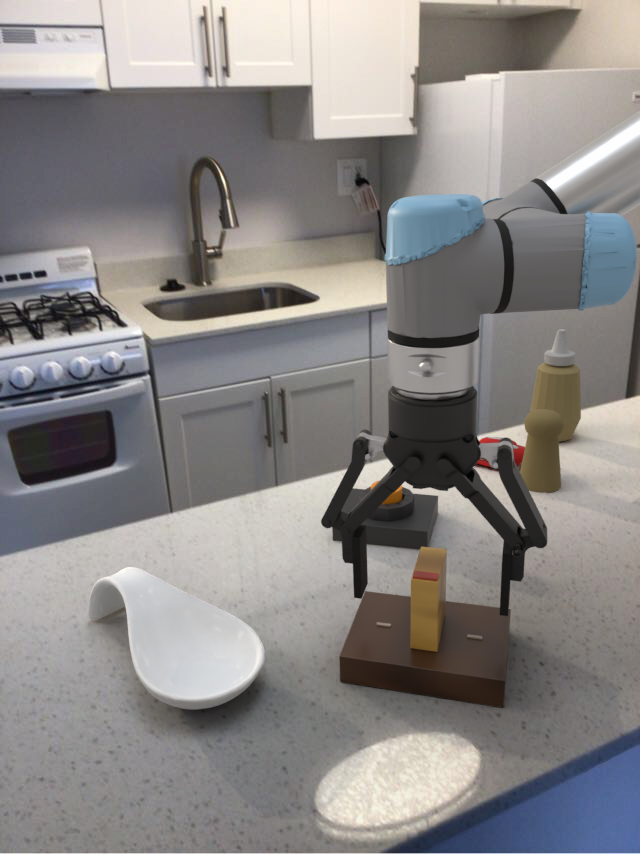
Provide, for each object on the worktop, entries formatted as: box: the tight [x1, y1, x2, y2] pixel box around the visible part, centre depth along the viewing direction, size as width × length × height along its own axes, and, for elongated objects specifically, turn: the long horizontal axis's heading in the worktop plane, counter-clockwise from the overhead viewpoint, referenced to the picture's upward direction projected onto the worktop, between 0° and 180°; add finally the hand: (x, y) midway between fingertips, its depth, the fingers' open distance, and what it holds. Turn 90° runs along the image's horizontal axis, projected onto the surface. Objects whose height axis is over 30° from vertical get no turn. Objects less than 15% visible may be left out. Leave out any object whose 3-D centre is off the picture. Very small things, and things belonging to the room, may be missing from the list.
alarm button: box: [370, 480, 403, 504], centre depth 97 cm, size 4×4×2 cm
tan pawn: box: [519, 409, 563, 494], centre depth 107 cm, size 6×6×11 cm
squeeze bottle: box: [529, 328, 582, 443], centre depth 122 cm, size 8×8×18 cm
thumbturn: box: [410, 546, 448, 652], centre depth 72 cm, size 6×2×8 cm, turn 164°
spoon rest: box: [87, 566, 266, 710], centre depth 74 cm, size 24×12×7 cm, turn 46°
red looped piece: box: [475, 436, 525, 468], centre depth 117 cm, size 12×4×10 cm
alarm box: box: [331, 486, 439, 551], centre depth 98 cm, size 12×10×4 cm
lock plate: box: [338, 590, 512, 709], centre depth 74 cm, size 15×11×3 cm
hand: (430, 599), depth 72 cm, fingers open, 13 cm apart
